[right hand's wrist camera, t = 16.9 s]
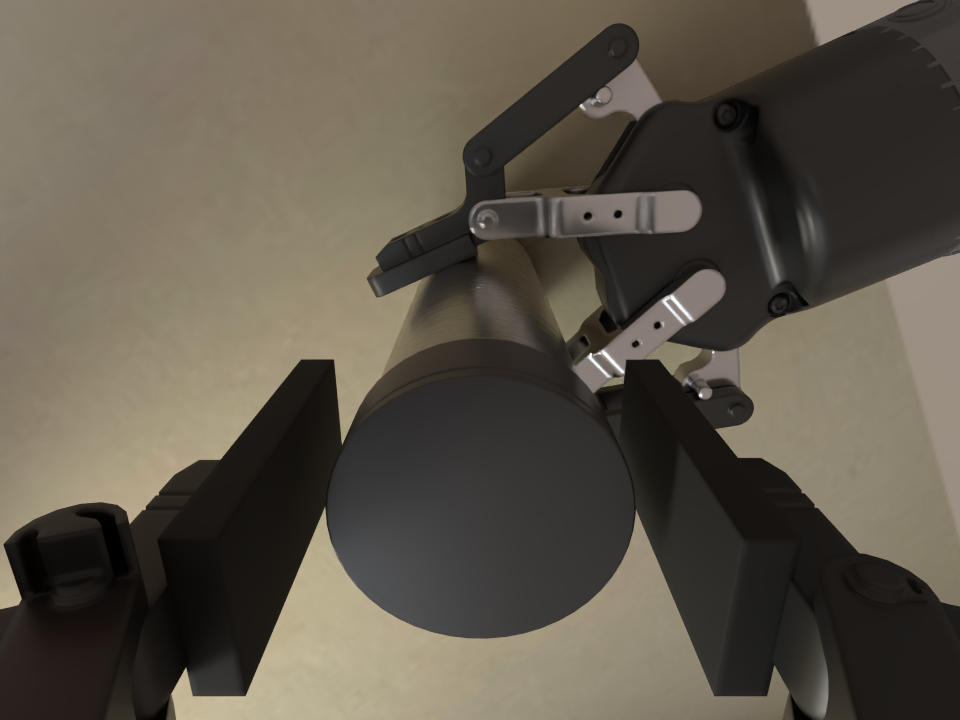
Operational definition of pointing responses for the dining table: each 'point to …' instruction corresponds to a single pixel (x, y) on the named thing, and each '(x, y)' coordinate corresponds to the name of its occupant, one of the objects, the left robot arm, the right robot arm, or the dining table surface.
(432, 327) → the silver metal cylinder
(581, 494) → the lid
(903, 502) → the dining table surface
